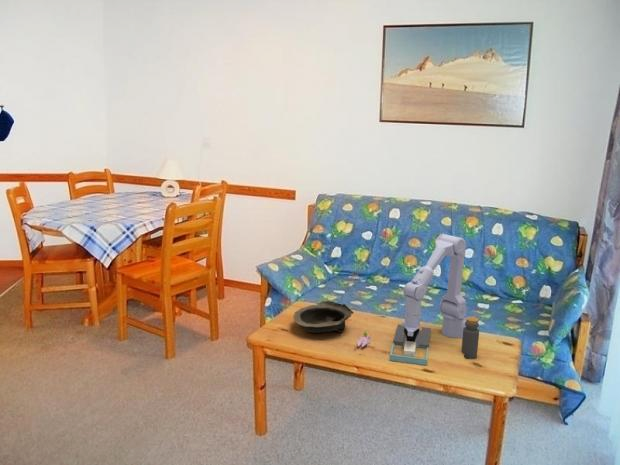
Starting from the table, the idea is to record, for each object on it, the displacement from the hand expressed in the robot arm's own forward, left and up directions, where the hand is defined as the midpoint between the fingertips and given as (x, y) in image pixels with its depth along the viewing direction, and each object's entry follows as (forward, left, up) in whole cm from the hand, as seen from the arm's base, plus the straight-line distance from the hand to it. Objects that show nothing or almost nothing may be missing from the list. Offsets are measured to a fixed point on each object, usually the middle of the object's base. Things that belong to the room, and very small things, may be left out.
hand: (410, 346), depth 212 cm
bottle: (-22, -3, -2) cm, 22 cm away
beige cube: (0, +7, -2) cm, 7 cm away
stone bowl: (+38, -11, -2) cm, 40 cm away
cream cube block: (0, +3, -2) cm, 3 cm away
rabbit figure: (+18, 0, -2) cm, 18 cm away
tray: (0, +5, -2) cm, 5 cm away
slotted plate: (0, -10, -2) cm, 10 cm away
